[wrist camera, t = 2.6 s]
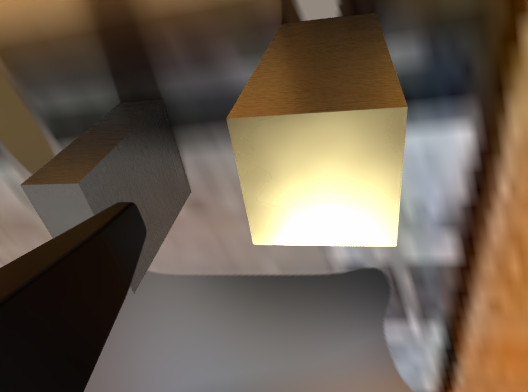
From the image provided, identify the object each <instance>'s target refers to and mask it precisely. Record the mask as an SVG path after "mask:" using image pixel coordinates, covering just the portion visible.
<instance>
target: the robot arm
mask: <svg viewBox="0 0 528 392" xmlns="http://www.w3.org/2000/svg"><path fill="white" fill-rule="evenodd" d="M146 234H147V230H146V226H145V223H144V221H143V219H142V216H141V214H140V211H139V209H138V207H137V205H136V204H135V203H133V202H118V203H116V204H114V205H112V206H110V207H109V208H107V209H105V210H103V211H101V212H100V213H98V214H96V215H94V216H92V217H91V218H89V219H87V220H85V221H84V222H82V223H80V224H78V225H76V226H75V227H73V228H71V229H69V230H67V231H66V232H64V233H62V234H60V235H59V236H57V237H55V238H53V239H51V240H50V241H48V242H46V243H44V244H42V245H41V246H39V247H37V248H35V249H34V250H32V251H30V252H28V253H26V254H25V255H23V256H21V257H19V258H17V259H16V260H14V261H12V262H10V263H9V264H7V265H5V266H3V267H1V268H0V392H84V390H85V388H86V385H87V383H88V381H89V378H90V376H91V374H92V372H93V370H94V367H95V365H96V363H97V361H98V358H99V356H100V354H101V352H102V349H103V347H104V345H105V343H106V340H107V338H108V336H109V333H110V331H111V329H112V327H113V325H114V322H115V320H116V318H117V316H118V313H119V311H120V309H121V307H122V304H123V302H124V300H125V298H126V295H127V293H128V290H129V288H130V285H131V282H132V279H133V276H134V273H135V270H136V267H137V264H138V261H139V258H140V255H141V251H142V248H143V245H144V242H145V239H146Z"/></svg>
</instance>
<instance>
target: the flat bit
mask: <svg viewBox="0 0 528 392" xmlns="http://www.w3.org/2000/svg"><path fill="white" fill-rule="evenodd" d="M21 187H22V189H23V190H24V192H25V194H26V195H27V197H28V198H29V200H30V202H31V203H32V205H33V207H34V208H35V210H36V212H37V213H38V215H39V216H40V218H41V220H42V221H43V223H44V225H45V226H46V228H47V229H48V231H49V233H50V234H51V236H52V238H55V237H57V236H59V235H60V234H62V233H64V232H66V231H67V230H69V229H71V228H73V227H75V226H76V225H78V224H80V223H82V222H84V221H85V220H87V219H89V218H91V217H92V216H94V215H96V214H98V213H100V212H101V211H103V210H105V209H107V208H109V207H110V206H112V205H114V204H116V203H118V202H133V203H135V204H136V205H137V207H138V209H139V211H140V214H141V216H142V219H143V221H144V223H145V226H146V230H147V234H146V239H145V242H144V245H143V248H142V251H141V255H140V258H139V261H138V264H137V267H136V270H135V273H134V276H133V279H132V282H131V285H130V288H129V290H128V293H127V294H134V293H135V291H136V289H137V288H138V286H139V284H140V282H141V280H142V279H143V277H144V275H145V273H146V272H147V270H148V268H149V266H150V264H151V263H152V261H153V259H154V257H155V256H156V254H157V252H158V250H159V248H160V247H161V245H162V243H163V241H164V239H165V238H166V236H167V234H168V232H169V230H170V229H171V227H172V225H173V223H174V221H175V220H176V218H177V216H178V214H179V213H180V211H181V209H182V207H183V205H184V204H185V202H186V200H187V198H188V196H189V195H190V193H191V190H190V187H189V183H188V180H187V177H186V174H185V170H184V167H183V164H182V161H181V157H180V154H179V151H178V147H177V144H176V141H175V138H174V134H173V131H172V128H171V125H170V121H169V118H168V115H167V112H166V108H165V105H164V102H163V99H158V100H146V101H133V102H120V103H119V104H118V105H117V106H116V107H114V108H113V109H112V110H111V111H110V112H108V113H107V114H106V115H105V116H103V117H102V118H101V119H100V120H99V121H97V122H96V123H95V124H94V125H93V126H91V127H90V128H89V129H88V130H87V131H85V132H84V133H83V134H82V135H80V136H79V137H78V138H77V139H76V140H74V141H73V142H72V143H71V144H70V145H68V146H67V147H66V148H65V149H63V150H62V151H61V152H60V153H59V154H57V155H56V156H55V157H54V158H53V159H51V160H50V161H49V162H48V163H47V164H45V165H44V166H43V167H42V168H40V169H39V170H38V171H37V172H36V173H34V174H33V175H32V176H31V177H29V178H28V179H27V180H26V181H25V182H23V183H22V184H21Z"/></svg>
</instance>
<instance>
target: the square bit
mask: <svg viewBox="0 0 528 392" xmlns="http://www.w3.org/2000/svg"><path fill="white" fill-rule="evenodd" d="M407 108H408V107H407V104H406V101H405V98H404V95H403V92H402V89H401V86H400V83H399V80H398V77H397V74H396V71H395V68H394V66H393V63H392V60H391V57H390V54H389V51H388V48H387V45H386V42H385V39H384V36H383V33H382V30H381V27H380V24H379V21H378V18H377V15H376V13H368V14H360V15H351V16H343V17H334V18H326V19H317V20H310V21H300V22H292V23H283V24H282V25H281V26H280V28H279V30H278V31H277V33H276V35H275V37H274V38H273V40H272V42H271V43H270V45H269V47H268V49H267V50H266V52H265V54H264V55H263V57H262V59H261V60H260V62H259V64H258V66H257V67H256V69H255V71H254V72H253V74H252V76H251V78H250V79H249V81H248V83H247V84H246V86H245V88H244V90H243V91H242V93H241V95H240V96H239V98H238V100H237V102H236V103H235V105H234V107H233V108H232V110H231V112H230V114H229V115H228V117H227V123H228V128H229V132H230V137H231V142H232V146H233V151H234V156H235V161H236V165H237V170H238V175H239V179H240V184H241V189H242V194H243V198H244V203H245V208H246V212H247V217H248V222H249V226H250V231H251V236H252V241H253V245H324V246H396V245H397V232H398V220H399V207H400V195H401V182H402V170H403V158H404V145H405V133H406V120H407Z"/></svg>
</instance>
